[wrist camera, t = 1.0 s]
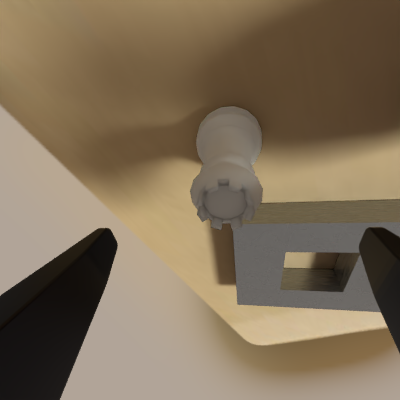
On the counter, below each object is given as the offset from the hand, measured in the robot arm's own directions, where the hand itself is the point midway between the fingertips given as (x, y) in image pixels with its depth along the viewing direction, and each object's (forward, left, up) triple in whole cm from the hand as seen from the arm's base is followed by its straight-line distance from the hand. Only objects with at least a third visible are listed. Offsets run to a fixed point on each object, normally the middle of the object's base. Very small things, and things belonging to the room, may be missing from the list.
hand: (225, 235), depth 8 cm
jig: (-7, +12, -10) cm, 17 cm away
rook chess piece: (0, 0, -10) cm, 10 cm away
